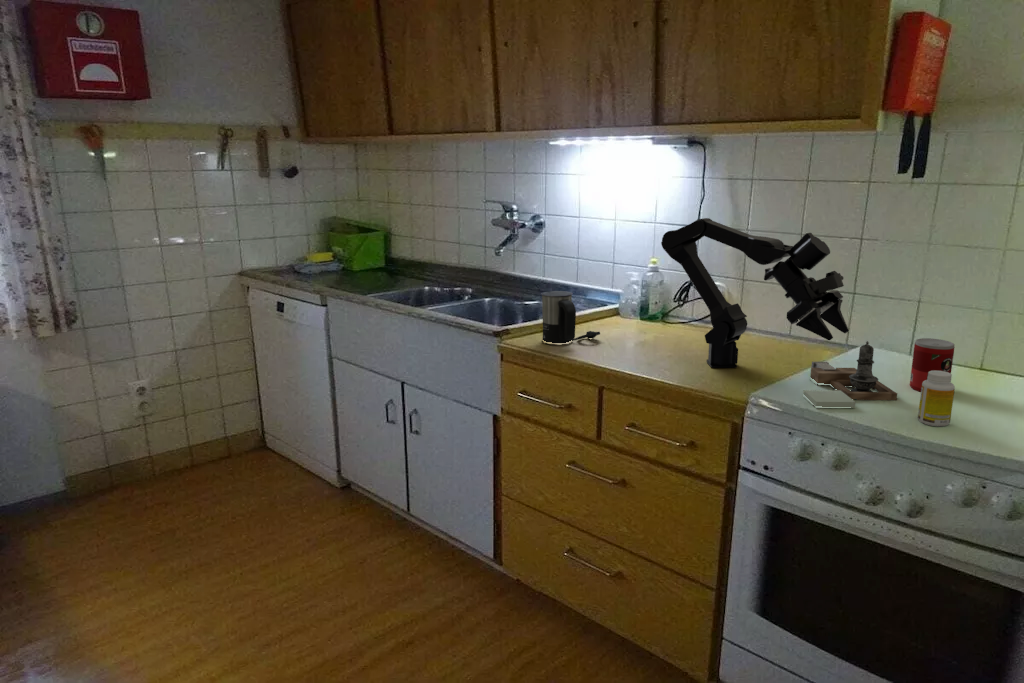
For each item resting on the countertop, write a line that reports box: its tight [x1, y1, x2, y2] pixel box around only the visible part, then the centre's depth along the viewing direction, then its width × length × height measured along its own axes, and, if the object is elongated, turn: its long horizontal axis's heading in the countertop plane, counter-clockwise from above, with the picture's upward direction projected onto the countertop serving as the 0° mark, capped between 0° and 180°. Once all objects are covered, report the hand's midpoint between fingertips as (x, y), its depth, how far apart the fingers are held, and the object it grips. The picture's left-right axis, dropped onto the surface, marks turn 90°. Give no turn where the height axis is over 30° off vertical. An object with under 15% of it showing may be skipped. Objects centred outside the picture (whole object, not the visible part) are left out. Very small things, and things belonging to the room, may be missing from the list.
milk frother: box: [540, 290, 601, 343], centre depth 209 cm, size 14×16×15 cm
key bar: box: [810, 361, 836, 371], centre depth 171 cm, size 4×7×3 cm, turn 177°
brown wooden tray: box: [809, 367, 898, 401], centre depth 161 cm, size 13×15×3 cm
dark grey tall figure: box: [849, 341, 879, 392], centre depth 158 cm, size 6×6×12 cm
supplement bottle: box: [917, 370, 956, 427], centre depth 139 cm, size 6×6×10 cm
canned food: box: [909, 337, 955, 393], centre depth 160 cm, size 8×8×11 cm
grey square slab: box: [802, 389, 856, 409], centre depth 153 cm, size 8×8×2 cm
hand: (839, 335), depth 161 cm, fingers open, 9 cm apart
